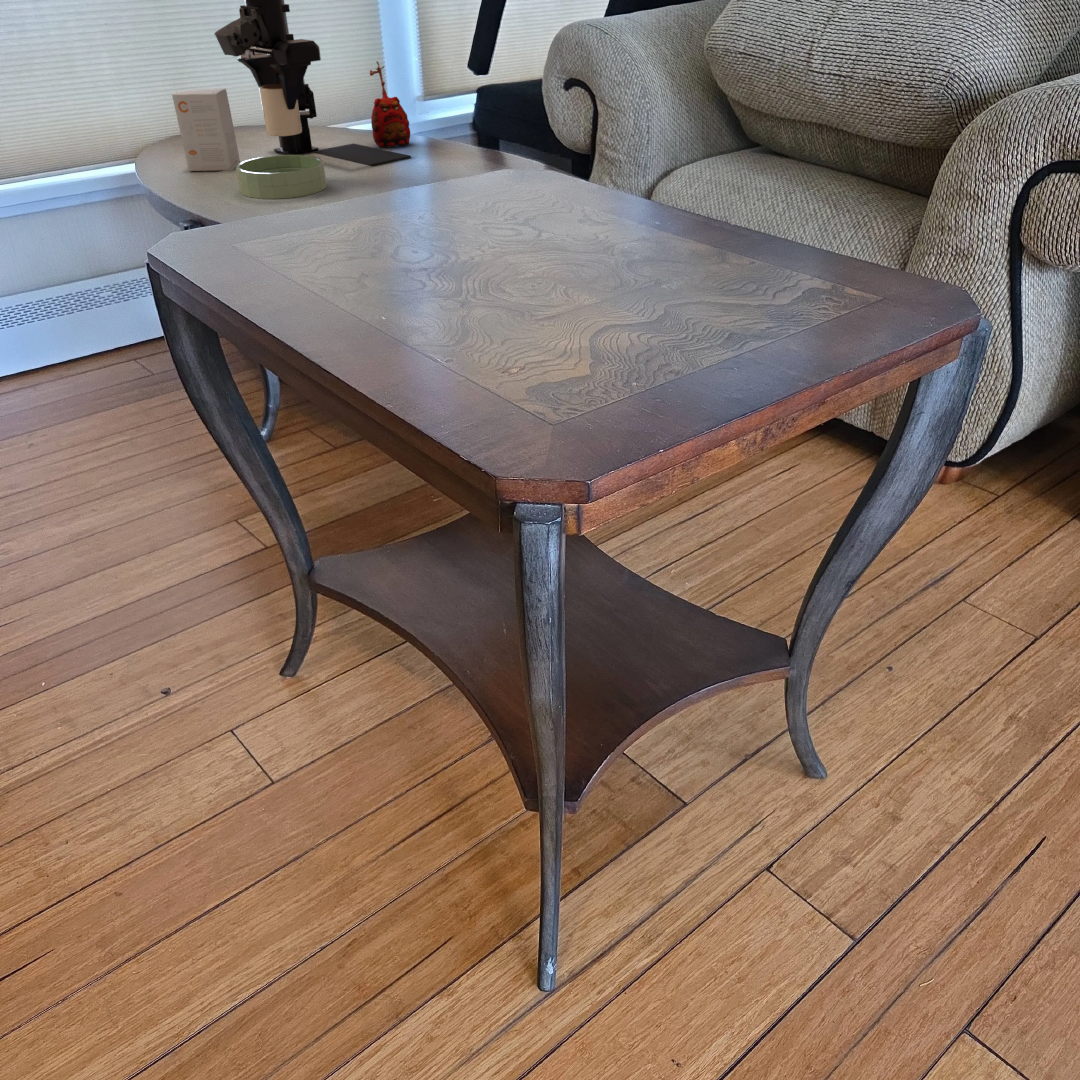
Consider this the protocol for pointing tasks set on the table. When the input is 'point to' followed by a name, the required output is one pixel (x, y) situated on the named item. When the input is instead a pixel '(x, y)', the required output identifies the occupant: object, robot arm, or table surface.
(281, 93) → the cup
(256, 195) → the bowl
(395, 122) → the red clay folk toy
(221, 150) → the small box
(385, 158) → the mat
